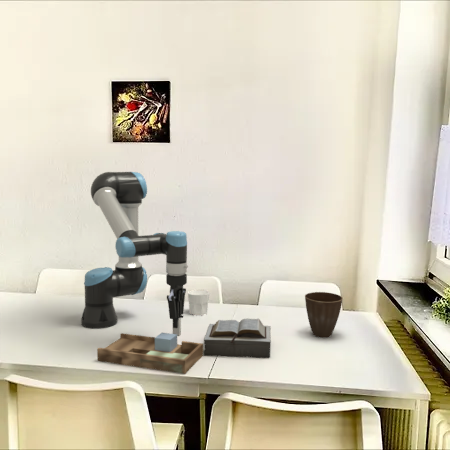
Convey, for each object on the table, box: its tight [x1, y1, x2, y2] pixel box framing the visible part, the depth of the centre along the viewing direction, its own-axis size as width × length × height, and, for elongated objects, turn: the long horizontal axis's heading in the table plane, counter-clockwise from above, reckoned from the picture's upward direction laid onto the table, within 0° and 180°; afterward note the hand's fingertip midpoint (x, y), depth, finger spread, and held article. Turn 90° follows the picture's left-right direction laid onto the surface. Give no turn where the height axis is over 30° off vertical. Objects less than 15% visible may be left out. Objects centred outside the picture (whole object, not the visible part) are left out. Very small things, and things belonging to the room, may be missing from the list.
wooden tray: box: [96, 332, 204, 375], centre depth 181 cm, size 33×17×4 cm, turn 72°
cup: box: [187, 289, 211, 317], centre depth 235 cm, size 10×10×10 cm
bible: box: [203, 318, 272, 359], centre depth 192 cm, size 23×27×10 cm
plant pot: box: [304, 291, 344, 339], centre depth 207 cm, size 15×15×16 cm
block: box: [154, 332, 178, 352], centre depth 183 cm, size 6×6×4 cm
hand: (176, 335), depth 191 cm, fingers closed
